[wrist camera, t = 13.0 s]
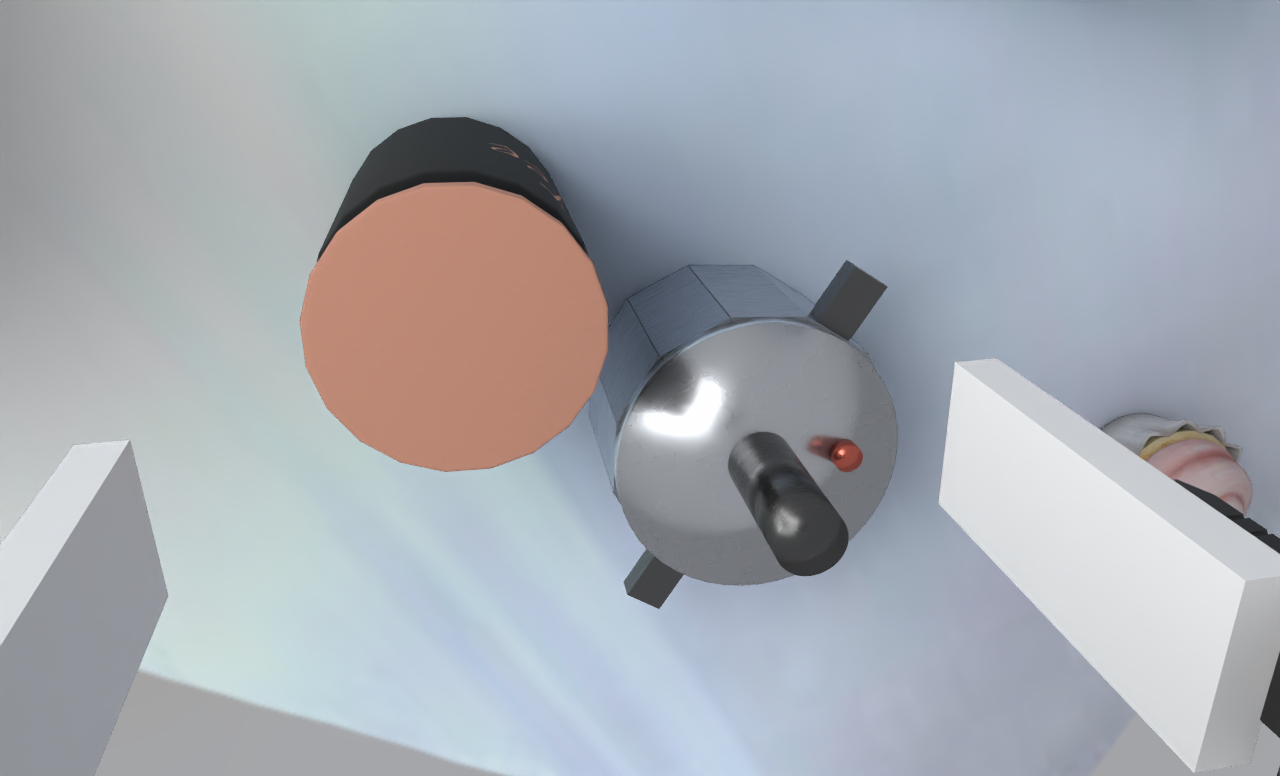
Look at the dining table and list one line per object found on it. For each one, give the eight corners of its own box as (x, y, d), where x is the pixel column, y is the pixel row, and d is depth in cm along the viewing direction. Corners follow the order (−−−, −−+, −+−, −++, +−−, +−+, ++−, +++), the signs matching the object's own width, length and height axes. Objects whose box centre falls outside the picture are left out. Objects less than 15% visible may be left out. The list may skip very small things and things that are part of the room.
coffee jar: (576, 297, 54) (632, 439, 37) (378, 337, 52) (346, 501, 36) (538, 95, 49) (583, 155, 33) (322, 134, 48) (257, 216, 32)
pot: (712, 565, 62) (752, 656, 54) (516, 472, 57) (527, 556, 49) (906, 294, 57) (982, 348, 49) (710, 168, 52) (758, 204, 44)
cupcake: (1114, 366, 61) (1229, 435, 52) (1216, 422, 64) (1342, 495, 55) (1028, 490, 64) (1124, 575, 55) (1130, 537, 67) (1238, 626, 58)
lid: (615, 575, 52) (651, 703, 43) (601, 321, 46) (638, 406, 37) (870, 540, 54) (956, 656, 45) (885, 294, 48) (986, 369, 39)
